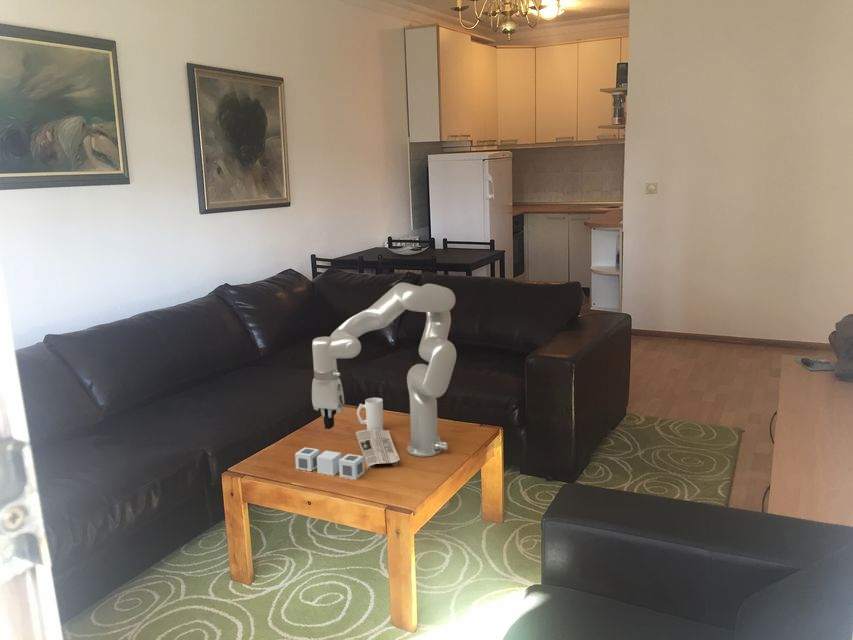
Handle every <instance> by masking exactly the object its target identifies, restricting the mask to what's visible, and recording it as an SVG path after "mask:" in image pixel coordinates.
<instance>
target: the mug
mask: <svg viewBox="0 0 853 640" xmlns="http://www.w3.org/2000/svg"><path fill="white" fill-rule="evenodd" d="M383 401H384V400H383V398H380V397H369V398H366V399H365V400H364V402H365V403H364V404H363V403H359V405H358V407H357V411H356V416H357V418H358V421H359V422H360V424H361V425H366V430H370V429H381V430H384V407H383V406H384V403H383ZM362 409H365V419H363V418H362V417H361V410H362Z"/></svg>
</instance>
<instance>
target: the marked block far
mask: <svg viewBox="0 0 853 640" xmlns="http://www.w3.org/2000/svg"><path fill="white" fill-rule="evenodd" d="M320 454H321V450H320V449H317V448H311V447H306V446H305V447H303V448H301V449H300V450H298V451H297V452H295V454H294V459H295V470H296V469H301V470H307V471H312V470H314V469H316V468H317V456H319V455H320ZM316 470H317V469H316ZM314 471H315V470H314Z"/></svg>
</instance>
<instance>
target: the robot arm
mask: <svg viewBox="0 0 853 640" xmlns="http://www.w3.org/2000/svg"><path fill="white" fill-rule="evenodd" d="M455 305H456V295H455V293H454V292H453V290H452V289H450V288H448V287H445V286H442V285H439V284H434V283H425V284H423V285H421V286H419V285H415V284H411V283H408V282H399V283H397V284H396V285H394V286H393V287H391V288H390V289H389V290H388V291H387V292H385V293H384V294H383V295H382V296H381V297H380V298H379V299H378V300H377V301H375V302H374V303H373V304H372V305H371V306H370V307H368V308H367V309H363V310H362V311H360V312H359V313H357V314H355V315H353V316H351V317H349V318H348V319H346V320H345V321H344V322H342V323H341V324H340V325H339V326H338V327H337V328H336V329H335V330H334V331H333V332H332V333H331V334H330V336H319V337H318V336H317V337H315V338H313V339H312V343H311V346H312V347H311V349H312V362H313V378H312V383H311V402H312V406H313V410H315V411H318V412H319V414H321V416H322V418H323V425H324V429H325V430H331V429H333V428H334V427H335V416H336V414H339V413H340V414H341V413H342V412H343V411H344V408H343V407H344V405H345V396H344V395H345V394H344V388H343V384H342V381H341V378H340V377H341V372H339V371H338V366H337V365H338V364H337V359H354V358H355V357H357V356H358V355H360V352H361V350H362V344H361V342H360V340H359V339H358V338H359V337H361V336H362V335H364V334H366V333H369V332H371V331H376V330H381V329H383V328H386V327H388V326H389V325H390V324H391V323H392V322H394V320H395V319H397V318H398V317H399V316H400V315H401V314H403V313H404V312H405V311H406V310H408V311H411V312H420V313H426V320H425V326H424V328H423V329H424V330H423V333H422V336H421V340H420V343H419V347H418V354H419V357H420V358H421V359H423V360H424V361H426V362H427V363H428V364H424V363H416V364H415V365H413V366H411V367H410V369H409V370H408V372H407V375H406V383H407V385H406V386H407V389H408V395H409V414H410V415H409V417H410V418H409V419H410V443H409V445H407V447H406V451H407V454H410V455H411V456H415V457H423V458H424V457H432V456H436V455H438V454H441V452H442V451H443V450H444V451H447V450H449V445H448V442H445V441H442V440H441V437H439V436H438V434H439V433H438V402H437V399H438V398H440V397H442V396H444V394H445V393H446V392H447V389H448V388H449V384H450V381H451V378H452V375H453V371H454V370H455V369H454V367H455V364H456V360H457V349H456V347H455V345H454V344H453V342H451V341H450V340H448V336H449V332H450V327H451V323H452V317H451V310H452V309H453V308H454V306H455Z"/></svg>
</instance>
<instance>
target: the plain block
mask: <svg viewBox="0 0 853 640" xmlns="http://www.w3.org/2000/svg"><path fill="white" fill-rule="evenodd" d="M341 458H343V457H342V452H339V451H331V450H324V451H323V452H321V453H320V455H319V456H317V469H316V471H317V474H318V473H322V474H321V475H323V474H327V475H326V476H329V475H332V476H331V477H334V476H335V475H337V474H338V473H339V460H340V459H341ZM336 473H337V474H336ZM333 475H334V476H333Z"/></svg>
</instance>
